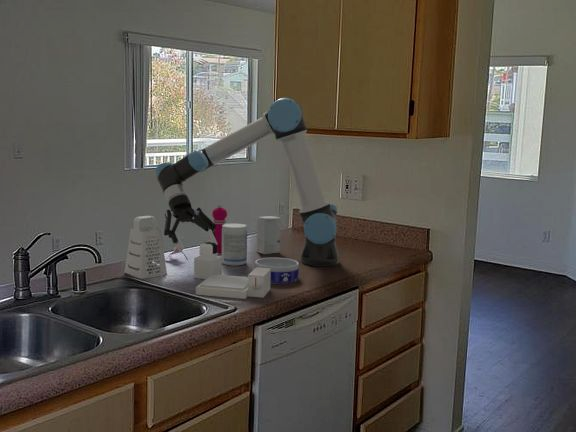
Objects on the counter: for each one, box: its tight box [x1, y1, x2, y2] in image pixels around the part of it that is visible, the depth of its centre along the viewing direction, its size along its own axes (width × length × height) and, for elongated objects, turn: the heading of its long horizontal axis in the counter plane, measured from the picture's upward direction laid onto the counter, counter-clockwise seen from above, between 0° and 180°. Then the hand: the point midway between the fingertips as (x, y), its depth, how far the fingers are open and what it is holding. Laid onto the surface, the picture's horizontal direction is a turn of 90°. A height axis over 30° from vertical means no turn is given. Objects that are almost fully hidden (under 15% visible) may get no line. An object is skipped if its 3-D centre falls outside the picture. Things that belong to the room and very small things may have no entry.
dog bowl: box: [254, 257, 300, 285], centre depth 226 cm, size 15×15×6 cm
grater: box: [124, 215, 168, 280], centre depth 225 cm, size 10×10×20 cm
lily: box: [165, 236, 189, 261], centre depth 248 cm, size 12×12×10 cm
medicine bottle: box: [193, 241, 223, 280], centre depth 224 cm, size 7×7×12 cm
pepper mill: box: [211, 203, 228, 255], centre depth 263 cm, size 7×7×20 cm
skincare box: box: [256, 215, 282, 255], centre depth 267 cm, size 8×6×15 cm
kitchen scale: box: [195, 267, 271, 300], centre depth 208 cm, size 21×16×7 cm
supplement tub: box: [221, 223, 248, 267], centre depth 245 cm, size 10×10×15 cm
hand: (198, 248), depth 226 cm, fingers open, 13 cm apart
